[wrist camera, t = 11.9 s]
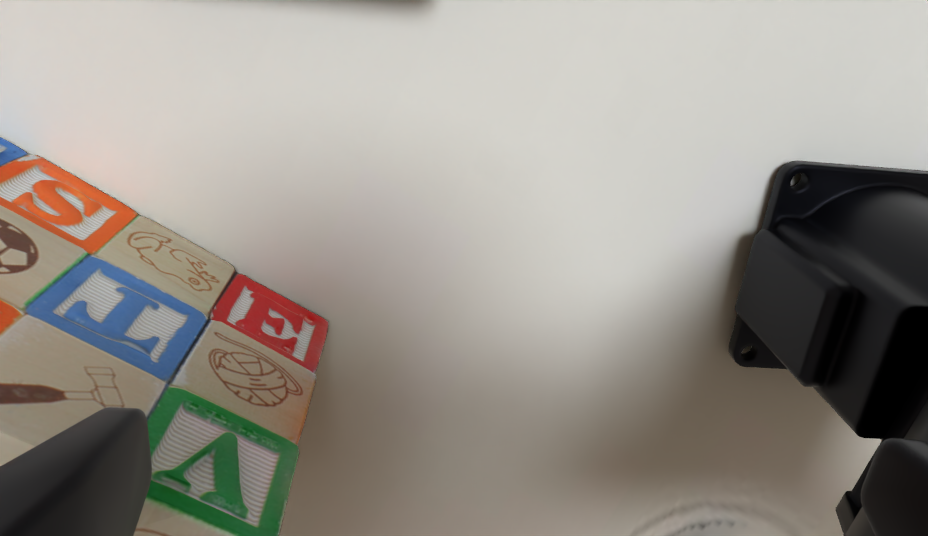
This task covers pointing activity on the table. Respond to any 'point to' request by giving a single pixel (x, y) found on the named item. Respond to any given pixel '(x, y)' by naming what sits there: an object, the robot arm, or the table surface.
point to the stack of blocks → (149, 351)
